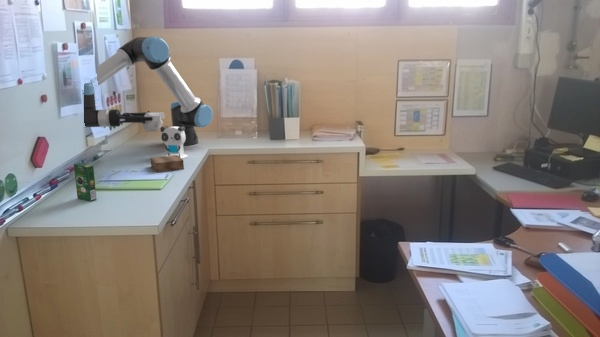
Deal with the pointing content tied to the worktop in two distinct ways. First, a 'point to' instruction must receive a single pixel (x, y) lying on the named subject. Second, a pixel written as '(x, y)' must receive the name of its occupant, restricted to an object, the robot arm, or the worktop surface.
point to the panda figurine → (174, 140)
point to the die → (152, 124)
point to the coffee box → (85, 181)
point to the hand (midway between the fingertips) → (162, 116)
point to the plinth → (167, 163)
